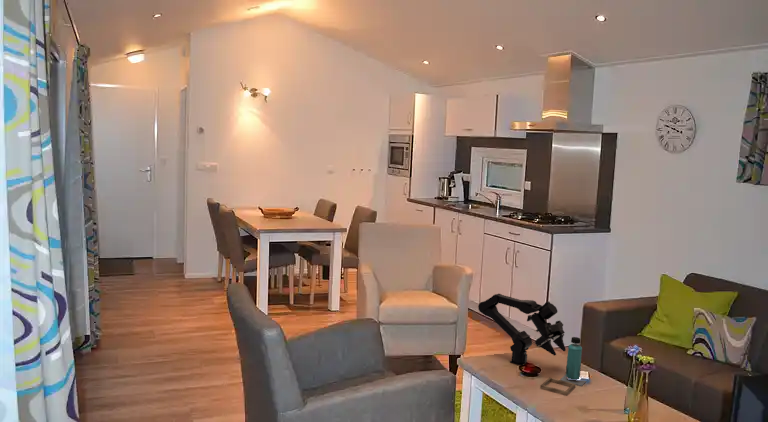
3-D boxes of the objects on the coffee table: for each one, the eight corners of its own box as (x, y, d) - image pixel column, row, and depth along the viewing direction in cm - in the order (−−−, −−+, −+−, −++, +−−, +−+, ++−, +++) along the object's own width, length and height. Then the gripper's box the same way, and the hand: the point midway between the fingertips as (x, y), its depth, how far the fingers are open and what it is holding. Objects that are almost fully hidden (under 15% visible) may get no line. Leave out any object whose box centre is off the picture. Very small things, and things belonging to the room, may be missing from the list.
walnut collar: (540, 388, 289) (540, 385, 289) (549, 380, 299) (549, 377, 299) (566, 395, 283) (567, 392, 283) (575, 387, 293) (575, 384, 293)
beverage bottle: (582, 381, 299) (586, 339, 296) (571, 383, 296) (575, 340, 293) (573, 376, 305) (577, 335, 302) (561, 377, 302) (565, 336, 299)
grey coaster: (559, 380, 300) (559, 379, 300) (566, 374, 308) (566, 373, 308) (581, 386, 294) (581, 385, 294) (587, 380, 303) (588, 378, 303)
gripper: (543, 319, 300) (562, 348, 294) (562, 312, 313) (581, 340, 307) (526, 331, 306) (545, 360, 300) (546, 324, 320) (565, 352, 314)
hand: (560, 353), depth 305 cm, fingers open, 9 cm apart
